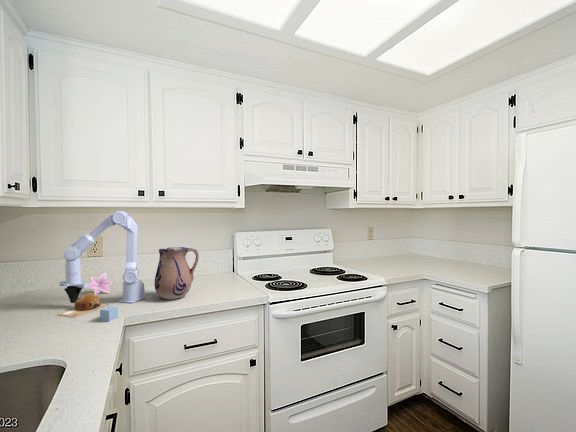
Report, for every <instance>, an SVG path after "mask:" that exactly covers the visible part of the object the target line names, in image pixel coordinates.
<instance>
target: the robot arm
mask: <svg viewBox="0 0 576 432" xmlns="http://www.w3.org/2000/svg"><path fill="white" fill-rule="evenodd" d="M115 225H118V226H120V227H122V228H123V229H124V230H125V231H126V250H125V251H126V253H125V254H126V255H125V257H126V258H125V270H124V273H123V275H122V280H123V281H122V299H119V300H118V302H119V303H129V304H132V303H135V302H138V301H141V300H143V299H145V298H146V297H147V296H145V283H144V282H143V280H140V279H139V278H138V276H139V274H140V273H139V272H140V271H139V269H138V262H137V259H138V257H137V256H138V233H139V232H138V231H139V229H138V228H139V227H138V225H137V224H136V222H135V220H134V219H133V218H132V216H131V214H129V213H127V212H126V211H124V210H123V211H122V210H119V211H114V213H112V215H111V214H110V215H109V216H107V217H106V218H104V220H103V221H101V223H99V224H98V225H97V226H96V227H95V228H94V229H93V230H92V231H91V232H90V233H85V234H83V235H80V236H78V239H77V240H76V241H75V242H73V243H71V244H70V247H68V248H66V249H65V250H64V251H63V257H64V259H65V267H64V269H65V281H63V280H62V281H59V282H58V283H59V287H66V288H64V290H63V291H64V292H66V294H67V295H68V298H69V302H70V304H75V302H76V300H77V299H78V298H79V297H80V293H81V291H82V290H83V289H86V288H87V287H88V284H89V283H88V282H85V281H82V270H81V269H82V267H81V265H82V263H81V257H82V255H83V253H85V252H86V251H87V250H88V249H89V248H91V246H93V245H94V244H95V242H96V238H97V237H98V236H100V235H101V234H102V233H103V232H105V231H106V230H107V229H108V228H110V227H112V226H115ZM87 289H88V288H87Z"/></svg>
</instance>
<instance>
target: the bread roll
mask: <svg viewBox="0 0 576 432" xmlns="http://www.w3.org/2000/svg"><path fill="white" fill-rule="evenodd" d="M101 304H102V299H101V297H100V296H99V295H98V294H94V293H93V292H89V293H85V294H82V295H79V296H78V299H77V300H76V302H75V303H74V308H75V309H76V310H79V311H87V310H92V309H95V308H98V307H99V306H100V305H101Z"/></svg>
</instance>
